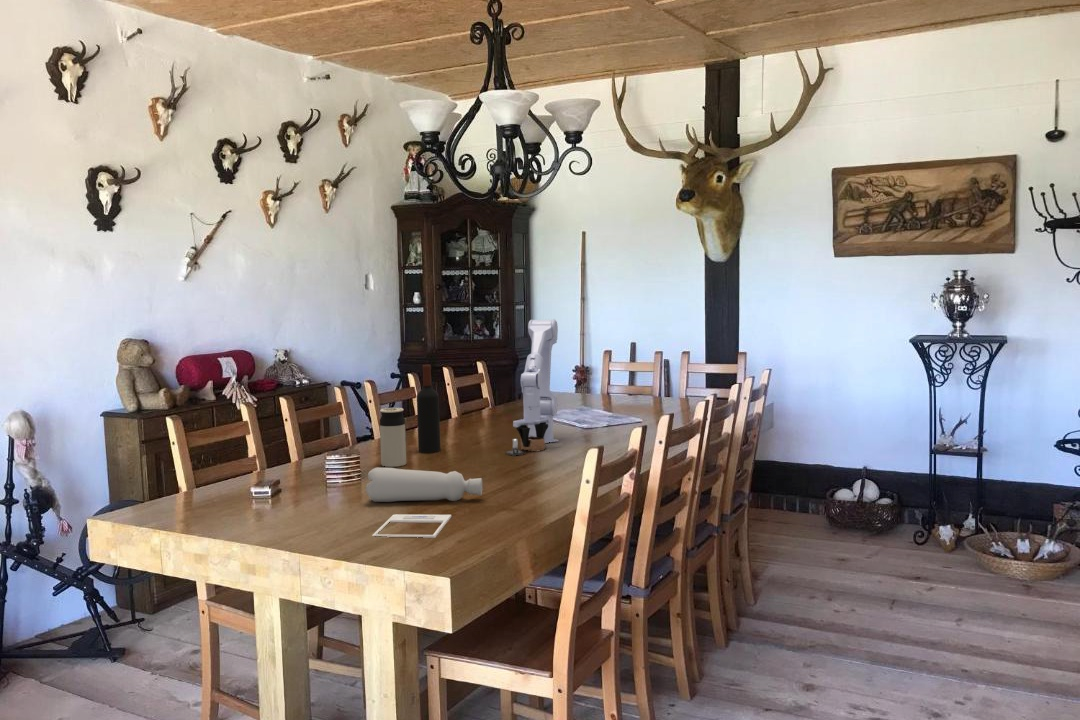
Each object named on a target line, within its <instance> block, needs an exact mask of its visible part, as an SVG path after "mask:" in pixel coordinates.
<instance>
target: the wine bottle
mask: <svg viewBox="0 0 1080 720" xmlns="http://www.w3.org/2000/svg"><path fill="white" fill-rule="evenodd" d="M422 381H423V382H422V383H423V385H422V389H421V390H420V391H419V392H417V394H416V412H417V413H416V415H417V416H416V417H417V418H416V419H417V440H418V442H417V443H418V453H420V452H421V453H420V454H436V453H439V451H440V450H441V430H440V429H441V426H440V424H441V423H440V421H441V419H440V398H439V393H438V392H437V391H436V390H435V389H434V388H433V386H432V366H431V364H428V363H427V364H422ZM435 452H436V453H435ZM440 452H441V451H440Z"/></svg>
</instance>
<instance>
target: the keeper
mask: <svg viewBox="0 0 1080 720" xmlns="http://www.w3.org/2000/svg"><path fill="white" fill-rule="evenodd" d="M506 454H507V455H506ZM522 454H526V455H527V451H525V450H521V449H520V450H519V439H518V438H512V450H509V451H505V455H506V456H510V455H512V456H511V457H517V456H516V455H519V456H523V455H522Z"/></svg>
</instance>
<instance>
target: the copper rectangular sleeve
mask: <svg viewBox="0 0 1080 720" xmlns="http://www.w3.org/2000/svg"><path fill="white" fill-rule="evenodd" d="M545 446H546V443H545V439H544V438H539V437H535V436H530V437H529V445H528V447H523V443H522V439H521V438H520V450H522V449H524V450H523V451H526V450H528V451H527V452H530V451H536V452H538V451H537V450H543V451H545V450H546V447H545ZM544 449H545V450H544Z"/></svg>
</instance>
